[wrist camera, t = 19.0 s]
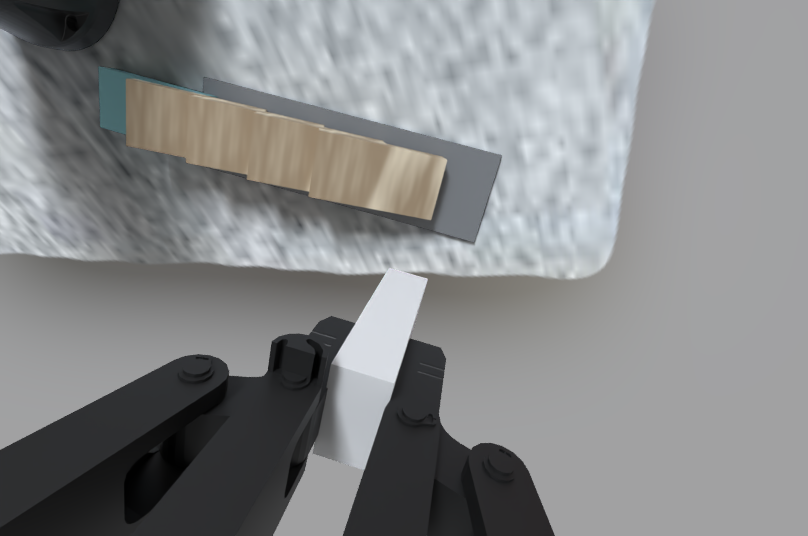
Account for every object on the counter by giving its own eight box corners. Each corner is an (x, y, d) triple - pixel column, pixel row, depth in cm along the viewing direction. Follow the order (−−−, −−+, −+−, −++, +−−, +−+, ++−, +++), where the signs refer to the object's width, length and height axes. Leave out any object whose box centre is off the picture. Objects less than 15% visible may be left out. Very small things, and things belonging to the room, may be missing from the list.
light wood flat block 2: (370, 198, 43) (250, 175, 40) (383, 140, 41) (256, 111, 38) (372, 203, 42) (246, 179, 39) (385, 143, 39) (253, 112, 37)
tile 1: (426, 214, 43) (309, 191, 40) (442, 156, 41) (319, 128, 38) (431, 220, 41) (308, 196, 38) (447, 160, 39) (318, 130, 36)
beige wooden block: (314, 183, 44) (191, 159, 41) (324, 125, 42) (195, 95, 39) (314, 187, 42) (185, 162, 39) (324, 127, 40) (188, 95, 37)
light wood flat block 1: (260, 168, 44) (134, 142, 41) (267, 109, 42) (135, 78, 39) (258, 172, 42) (126, 145, 39) (264, 111, 40) (125, 78, 37)
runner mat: (201, 164, 46) (198, 165, 45) (206, 77, 42) (203, 77, 42) (474, 241, 43) (474, 242, 43) (501, 155, 40) (501, 155, 40)
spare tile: (213, 155, 45) (116, 127, 46) (217, 96, 42) (115, 68, 44) (201, 156, 43) (100, 127, 44) (205, 95, 41) (98, 66, 42)
